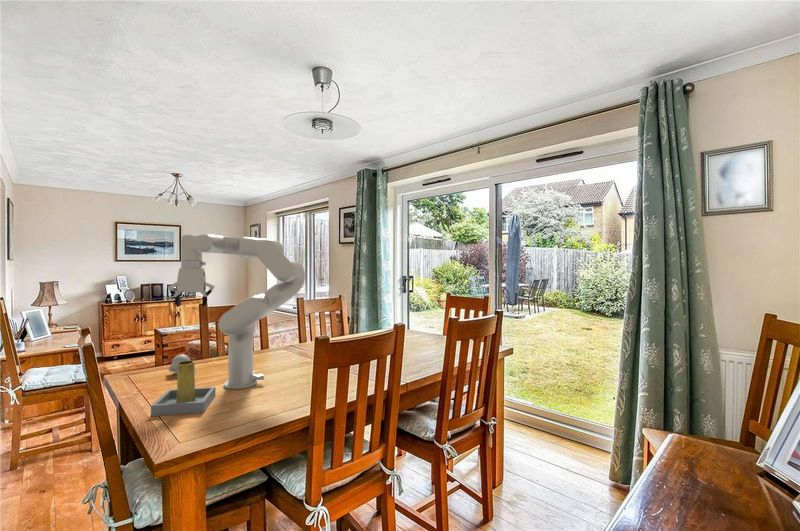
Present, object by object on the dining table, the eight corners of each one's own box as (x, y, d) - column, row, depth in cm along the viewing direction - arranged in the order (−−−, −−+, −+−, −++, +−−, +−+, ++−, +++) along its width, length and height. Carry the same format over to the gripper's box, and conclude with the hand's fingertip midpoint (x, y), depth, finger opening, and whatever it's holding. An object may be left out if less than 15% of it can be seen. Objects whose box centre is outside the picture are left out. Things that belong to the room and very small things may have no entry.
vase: (186, 406, 132) (187, 365, 132) (171, 404, 133) (171, 364, 133) (199, 400, 138) (199, 360, 138) (184, 398, 139) (184, 359, 139)
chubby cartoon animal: (185, 383, 168) (191, 366, 167) (164, 370, 171) (170, 353, 170) (198, 378, 175) (203, 361, 174) (178, 366, 178) (183, 349, 177)
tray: (215, 396, 145) (215, 386, 145) (203, 412, 130) (204, 402, 130) (168, 399, 142) (168, 389, 142) (150, 416, 126) (150, 405, 126)
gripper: (216, 264, 164) (216, 304, 164) (171, 264, 159) (171, 305, 160) (212, 265, 156) (212, 307, 157) (164, 264, 152) (164, 307, 152)
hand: (191, 306), depth 158 cm, fingers open, 9 cm apart
